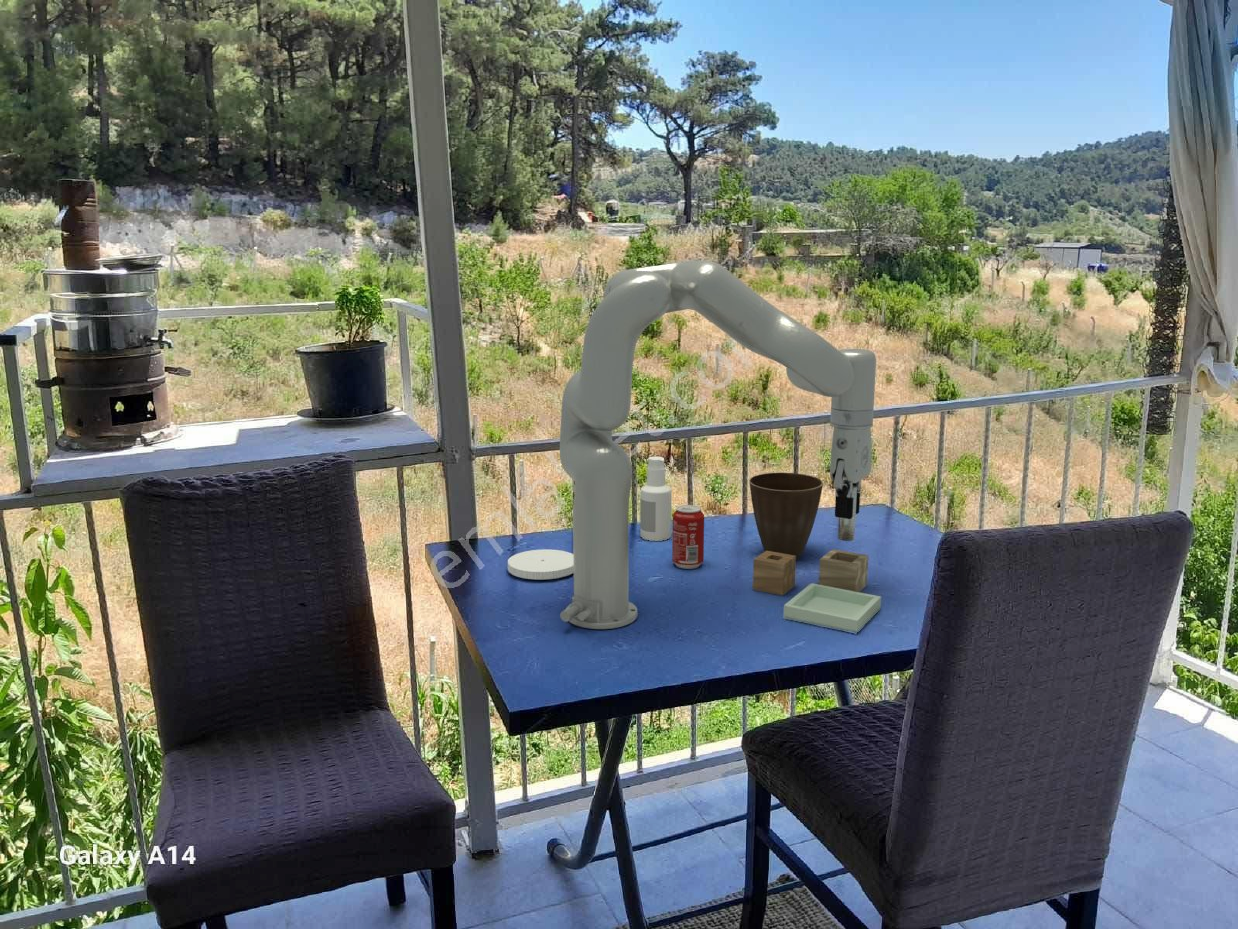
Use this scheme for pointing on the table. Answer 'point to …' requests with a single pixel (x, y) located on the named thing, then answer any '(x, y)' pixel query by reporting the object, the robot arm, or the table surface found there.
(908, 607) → the table surface
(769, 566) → the block
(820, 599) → the tray
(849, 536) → the cylinder
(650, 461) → the spray bottle
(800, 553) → the plant pot
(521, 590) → the table surface
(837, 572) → the go block
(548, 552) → the plastic lid
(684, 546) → the beverage can
